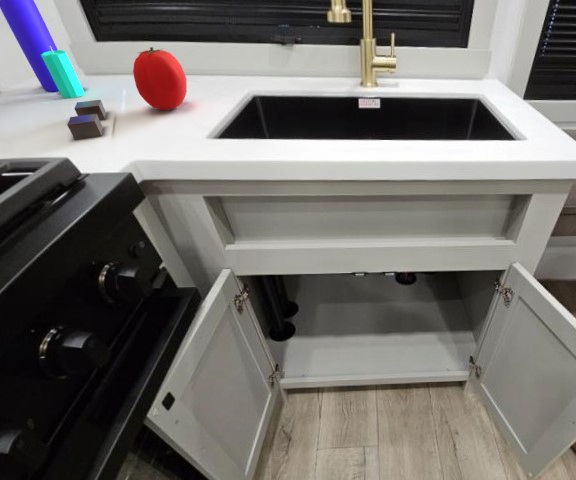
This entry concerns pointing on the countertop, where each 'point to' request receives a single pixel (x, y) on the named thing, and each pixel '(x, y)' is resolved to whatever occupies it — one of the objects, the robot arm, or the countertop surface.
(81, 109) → the dark brown block
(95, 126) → the dark grey block
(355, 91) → the countertop surface
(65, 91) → the candle
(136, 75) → the tomato
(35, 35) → the bottle
